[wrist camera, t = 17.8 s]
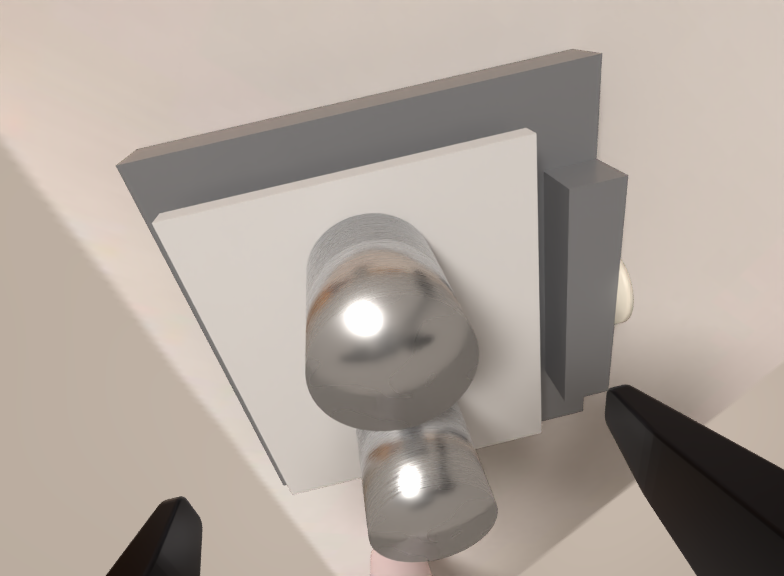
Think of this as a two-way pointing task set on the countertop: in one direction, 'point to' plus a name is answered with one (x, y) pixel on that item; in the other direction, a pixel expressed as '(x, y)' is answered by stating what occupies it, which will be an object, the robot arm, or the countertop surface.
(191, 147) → the scale
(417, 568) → the smoothie
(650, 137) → the countertop surface
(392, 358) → the cylinder
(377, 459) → the cylinder
